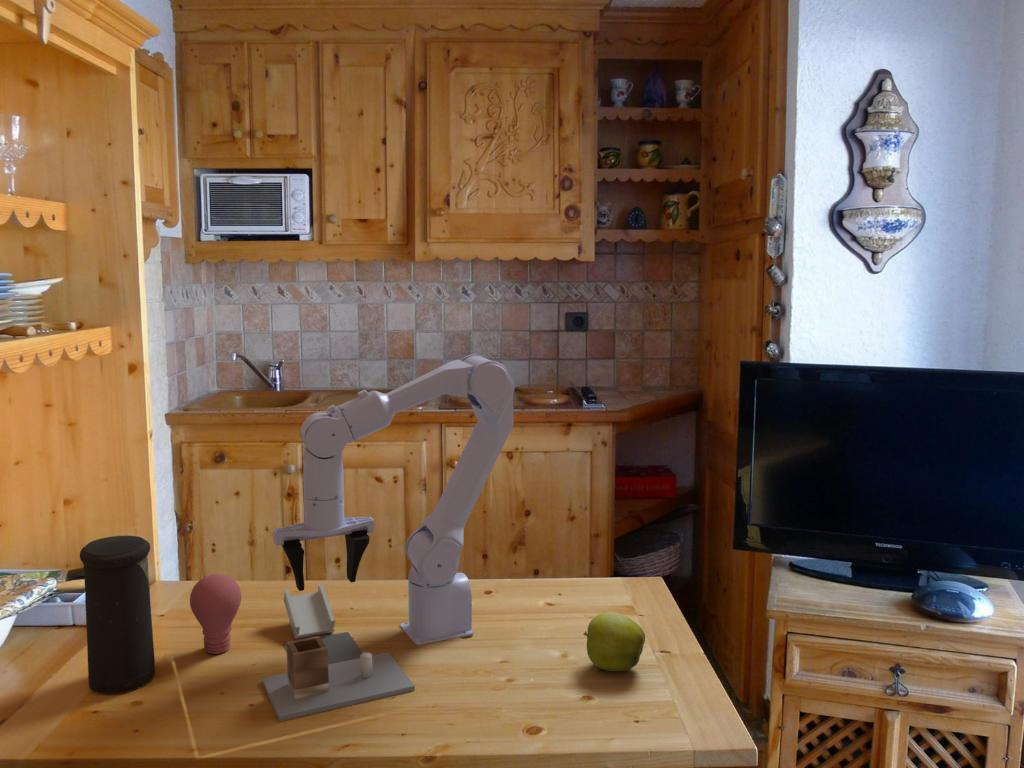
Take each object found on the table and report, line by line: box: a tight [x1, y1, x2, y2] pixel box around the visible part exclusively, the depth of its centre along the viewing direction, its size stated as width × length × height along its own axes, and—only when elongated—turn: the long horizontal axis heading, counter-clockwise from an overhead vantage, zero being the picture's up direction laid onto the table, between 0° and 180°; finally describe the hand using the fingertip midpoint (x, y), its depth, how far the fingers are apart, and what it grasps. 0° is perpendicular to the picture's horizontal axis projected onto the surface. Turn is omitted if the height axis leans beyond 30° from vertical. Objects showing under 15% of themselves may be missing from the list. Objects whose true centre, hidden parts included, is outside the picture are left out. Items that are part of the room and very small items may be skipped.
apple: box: [582, 611, 646, 672], centre depth 124 cm, size 8×9×8 cm
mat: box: [282, 631, 364, 664], centre depth 128 cm, size 10×10×1 cm
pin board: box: [261, 652, 416, 722], centre depth 117 cm, size 18×11×4 cm, turn 117°
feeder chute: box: [283, 583, 336, 640], centre depth 135 cm, size 6×8×6 cm
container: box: [79, 535, 156, 695], centre depth 118 cm, size 9×9×20 cm
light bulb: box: [189, 573, 242, 655], centre depth 127 cm, size 7×7×12 cm
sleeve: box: [286, 635, 329, 699], centre depth 115 cm, size 4×4×6 cm
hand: (326, 584), depth 128 cm, fingers open, 7 cm apart
